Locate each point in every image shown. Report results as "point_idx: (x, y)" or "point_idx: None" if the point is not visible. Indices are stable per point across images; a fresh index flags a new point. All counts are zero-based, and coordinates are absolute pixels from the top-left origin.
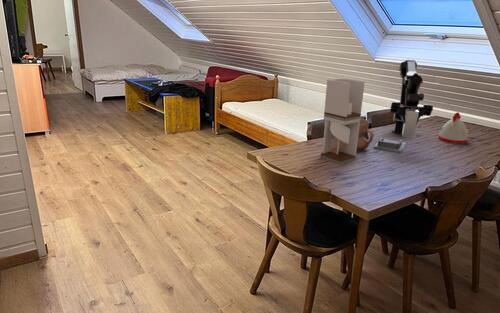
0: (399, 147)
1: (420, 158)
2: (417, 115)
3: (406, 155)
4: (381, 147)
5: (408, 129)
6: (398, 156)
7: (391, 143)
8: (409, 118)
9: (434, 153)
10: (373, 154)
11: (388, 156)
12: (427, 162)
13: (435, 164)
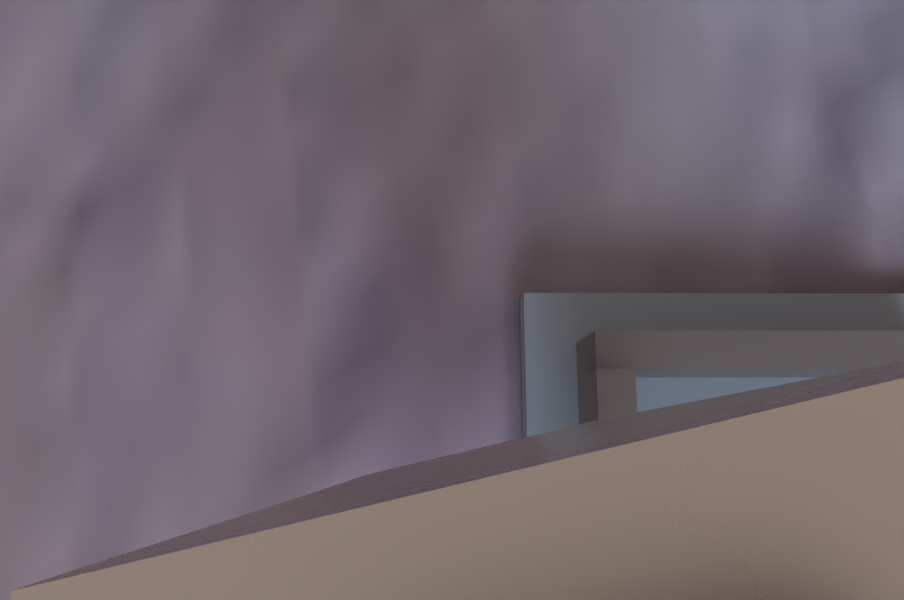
0: (581, 416)
1: (226, 175)
2: (226, 526)
3: (426, 206)
4: (833, 294)
5: (532, 437)
6: (519, 97)
7: (732, 331)
8: (652, 417)
9: (27, 573)
10: (832, 2)
11: (638, 25)
12: (127, 50)
13: (23, 23)
